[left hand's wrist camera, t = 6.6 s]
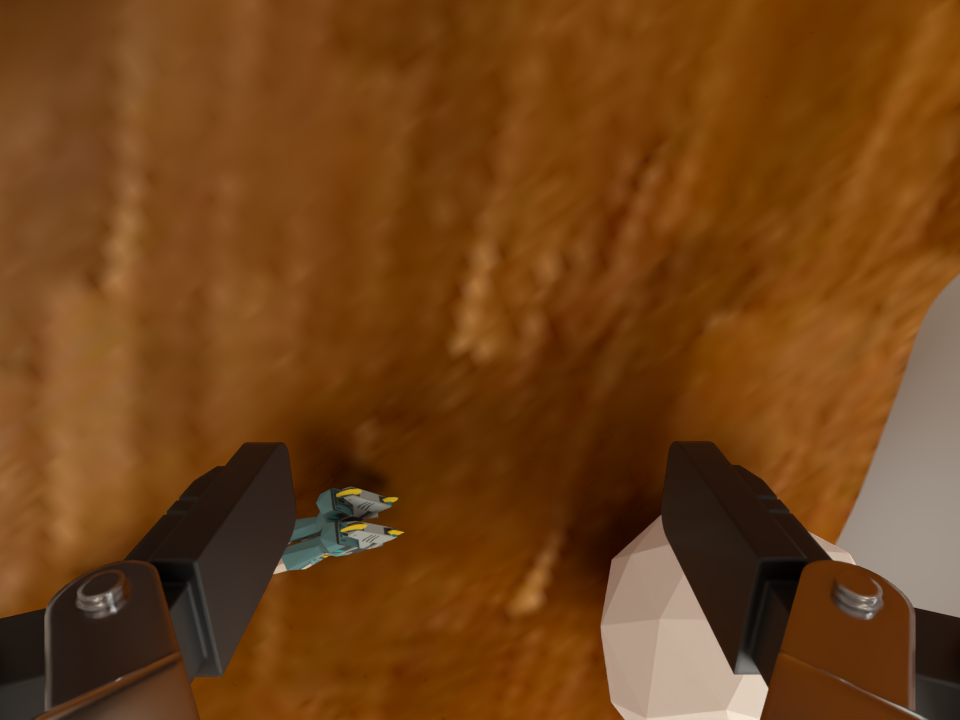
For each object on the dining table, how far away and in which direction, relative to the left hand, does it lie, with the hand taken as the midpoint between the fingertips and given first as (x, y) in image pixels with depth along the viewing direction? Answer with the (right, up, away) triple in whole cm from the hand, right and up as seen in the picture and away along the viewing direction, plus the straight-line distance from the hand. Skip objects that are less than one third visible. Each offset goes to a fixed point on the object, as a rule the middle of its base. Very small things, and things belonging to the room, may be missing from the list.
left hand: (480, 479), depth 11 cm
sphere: (+18, -14, +36) cm, 43 cm away
